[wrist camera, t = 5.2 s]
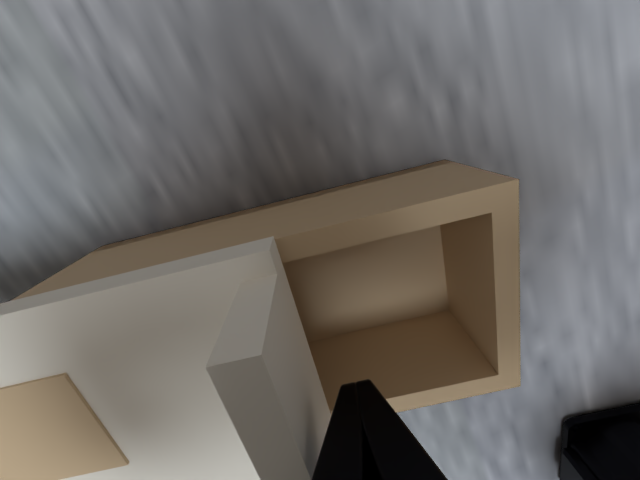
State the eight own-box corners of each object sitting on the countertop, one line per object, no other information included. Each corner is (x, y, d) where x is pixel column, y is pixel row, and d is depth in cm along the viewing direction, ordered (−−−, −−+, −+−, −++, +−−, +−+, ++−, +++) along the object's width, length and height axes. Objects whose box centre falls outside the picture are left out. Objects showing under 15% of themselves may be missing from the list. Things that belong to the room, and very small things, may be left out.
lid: (273, 236, 9) (248, 321, 5) (337, 436, 12) (352, 583, 8) (-213, 355, 9) (-554, 507, 6) (-36, 515, 12) (-184, 683, 9)
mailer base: (444, 159, 13) (518, 179, 9) (459, 310, 16) (520, 386, 12) (101, 246, 14) (0, 306, 9) (172, 375, 17) (121, 470, 12)
